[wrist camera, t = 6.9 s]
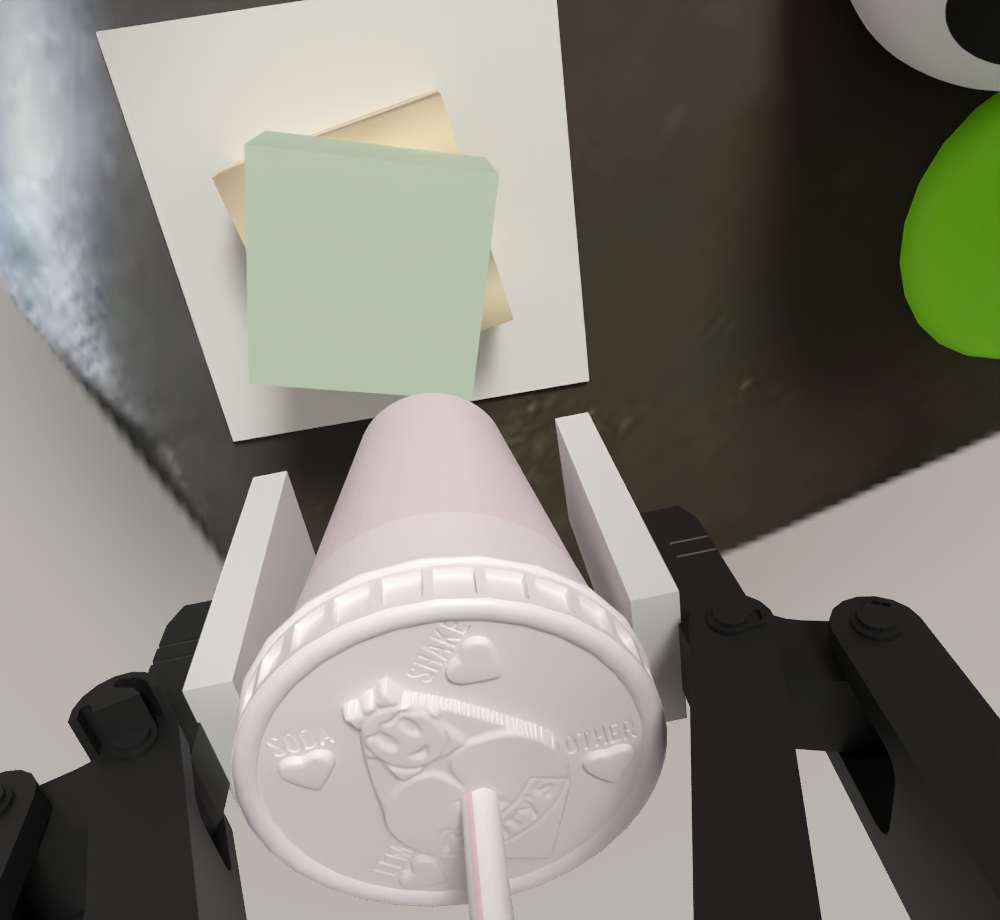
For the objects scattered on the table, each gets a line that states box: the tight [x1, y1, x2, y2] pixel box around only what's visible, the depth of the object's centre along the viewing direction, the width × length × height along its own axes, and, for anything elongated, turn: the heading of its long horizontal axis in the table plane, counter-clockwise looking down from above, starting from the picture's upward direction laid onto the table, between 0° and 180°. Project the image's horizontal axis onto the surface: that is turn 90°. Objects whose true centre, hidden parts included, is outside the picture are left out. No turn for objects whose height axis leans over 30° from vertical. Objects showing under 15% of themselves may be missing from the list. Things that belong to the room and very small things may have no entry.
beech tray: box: [212, 89, 514, 331], centre depth 37 cm, size 10×10×5 cm
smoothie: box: [231, 393, 667, 920], centre depth 14 cm, size 6×6×14 cm
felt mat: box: [96, 0, 589, 442], centre depth 39 cm, size 20×20×1 cm
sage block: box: [244, 130, 499, 400], centre depth 32 cm, size 9×9×5 cm
